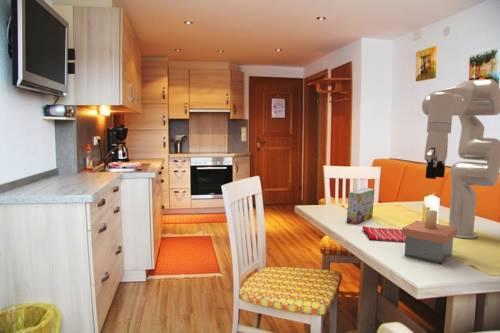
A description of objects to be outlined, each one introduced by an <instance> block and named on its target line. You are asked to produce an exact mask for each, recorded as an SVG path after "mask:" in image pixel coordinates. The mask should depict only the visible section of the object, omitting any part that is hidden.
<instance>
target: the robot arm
mask: <svg viewBox="0 0 500 333" xmlns="http://www.w3.org/2000/svg"><path fill="white" fill-rule="evenodd" d="M421 109H422V113H424V115H426V116H427V128H426V134H427V136H426V142H425V148H424V149H425V150H424V160H425V161H426V164H425V165H426V166H425V167H426V169H425V179H430V180H431V179H432V180H435V179H437V178H445V173H446V172H445V171H446V161H447V158H448V148H449V147H448V144H449V134H451V133H452V123H453V116H454V117H455V116H458V119H459V121H460V125H461V129H460V130H461V132H460V138H459V142H458V150H457V151H458V152H457V153H458V154H457V155H458V156H459V157H460V159H463V160H467V161H458V162H454V163H453V164H452V165H451V167H450V170H449V171H450V181H451V182H450V184H451V186H450V187H451V189H450V190H451V192H450V193H451V194H450V206H449V217H448V226H452V227H458V230H457V235H456V236H455V237H454V238H460V239H467V240H468V239H471V240H472V239H477V238H478V234H477V232H475V220H476V219H475V218H476V208H477V207H476V206H477V193H476V192H475V190H474V188H473V187H472V186H477V187H494V186H496V185H497V183H498V181H499V178H500V177H499V175H500V139H498V138H494V137H493V138H491V137H490V138H489V137H484V133H485V126H484V123H482V121H481V120H480V119H479V118H478V117H477V116H498V115H500V86H499V84H498V83H497V81H495V79H492V78H491V79H490V78H489V79H472V80H464V81H462V82H461V83H459V84H458V85H455V86H452V87H449V88H444V89H440V90H437V91H433V92H431V93H429V94H427V95H426V96H425V97H424V99H423V101H422V104H421ZM468 160H469V161H468ZM470 160H471V161H470ZM473 161H483V162H473Z"/></svg>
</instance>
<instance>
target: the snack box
mask: <svg viewBox="0 0 500 333" xmlns="http://www.w3.org/2000/svg"><path fill="white" fill-rule="evenodd" d="M374 199H375V189H374V188H371V187H370V188H369V187H363V188H359V189H355V190H352V191H349V192H348V200H347V214H346V223H347V224H351V225H356V226H357V225H359V224H361V223H363V222H366V221H367V220H368V221H369V219H372V218H373V213H374V202H375V200H374Z"/></svg>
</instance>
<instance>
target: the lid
mask: <svg viewBox="0 0 500 333" xmlns="http://www.w3.org/2000/svg"><path fill="white" fill-rule="evenodd" d="M437 219H438V211H437V210H434V209H426V210H425V219H424V221H422V220H415V221H413V222H412V223H410V224H408V225H405V226H404V227H402V228H401V229H402V235H403V236H408V237H413V238H418V239H423V240H429V241H434V242H439V243H444V244H446V243H447V242H448V241H450V240H451V239H452V238H453V239H454V238H456V237H455V236H456V235H457V230H458V227H452V226H449V225H445V224H439V223H437V222H438V221H437Z"/></svg>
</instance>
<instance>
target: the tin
mask: <svg viewBox="0 0 500 333" xmlns="http://www.w3.org/2000/svg"><path fill="white" fill-rule="evenodd" d="M453 243H454V237H453V238H452V239H451V240H450V241H448V242H447V243H446V244H444V243H439V242H434V241H429V240H423V239H418V238H413V237H408V236H406V240H405V243H404V255H403V256H404V257H407V258H411V259H417V260H420V261H425V262H429V263H433V264H438V265H442V264H443V263H445V262H446V261H447V260H448V258H450V257H451V256H452V254H453V246H454V245H453Z"/></svg>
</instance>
